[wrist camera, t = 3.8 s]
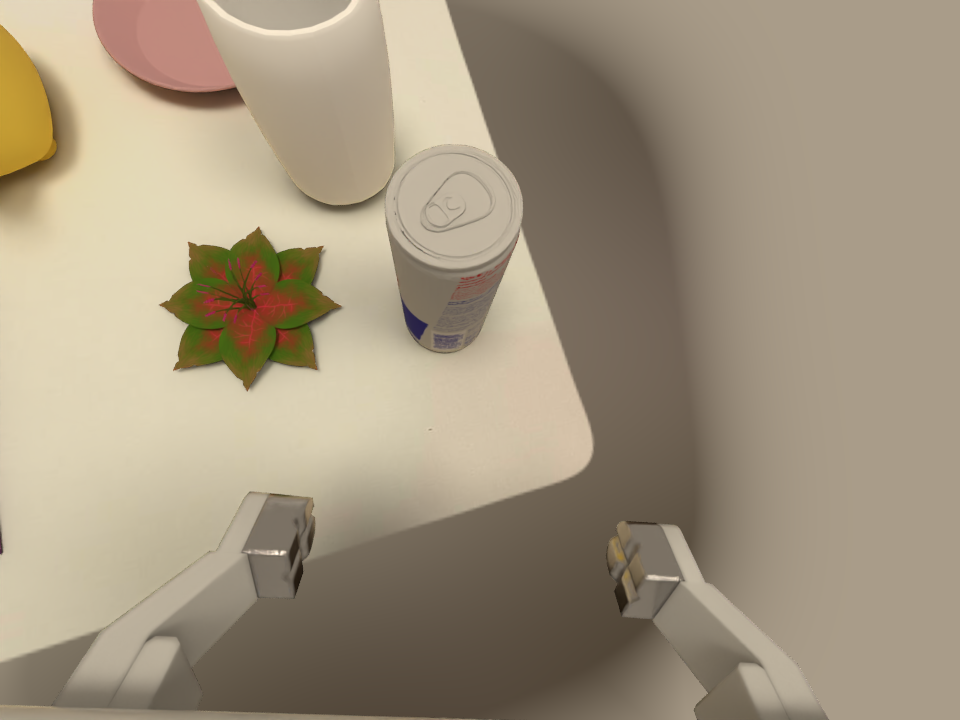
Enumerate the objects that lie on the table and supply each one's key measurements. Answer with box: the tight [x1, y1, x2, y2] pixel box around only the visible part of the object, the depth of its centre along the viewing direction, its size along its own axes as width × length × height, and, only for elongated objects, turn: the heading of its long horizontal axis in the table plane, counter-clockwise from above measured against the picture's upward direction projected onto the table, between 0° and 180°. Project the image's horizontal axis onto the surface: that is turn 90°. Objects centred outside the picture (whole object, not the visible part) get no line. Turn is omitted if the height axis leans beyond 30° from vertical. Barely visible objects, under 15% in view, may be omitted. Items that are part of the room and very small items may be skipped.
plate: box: [93, 0, 236, 92], centre depth 33 cm, size 14×14×2 cm
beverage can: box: [385, 144, 523, 352], centre depth 24 cm, size 6×6×15 cm
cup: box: [197, 0, 395, 205], centre depth 26 cm, size 8×8×14 cm
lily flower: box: [160, 227, 341, 391], centre depth 28 cm, size 12×12×5 cm
